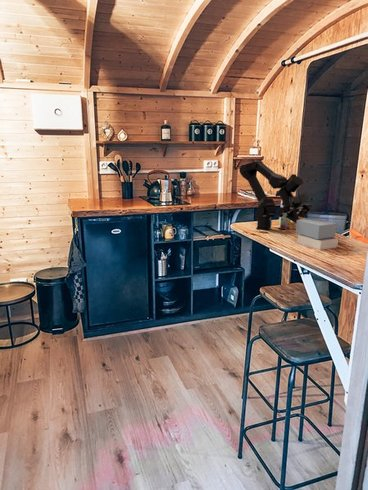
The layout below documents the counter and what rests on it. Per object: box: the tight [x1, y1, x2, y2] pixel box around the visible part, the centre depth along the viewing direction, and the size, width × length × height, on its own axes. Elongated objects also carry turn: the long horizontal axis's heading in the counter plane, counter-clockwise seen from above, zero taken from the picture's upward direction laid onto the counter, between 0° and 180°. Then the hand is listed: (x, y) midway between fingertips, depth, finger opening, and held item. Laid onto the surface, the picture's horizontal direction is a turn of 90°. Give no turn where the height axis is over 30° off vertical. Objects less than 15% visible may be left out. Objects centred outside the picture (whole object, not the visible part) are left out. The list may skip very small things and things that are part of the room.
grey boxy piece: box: [294, 217, 338, 239], centre depth 175 cm, size 18×11×6 cm, turn 30°
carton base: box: [296, 234, 339, 251], centre depth 173 cm, size 13×11×4 cm
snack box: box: [278, 199, 291, 230], centre depth 212 cm, size 21×6×15 cm, turn 168°
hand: (302, 225), depth 180 cm, fingers closed on grey boxy piece, 2 cm apart
